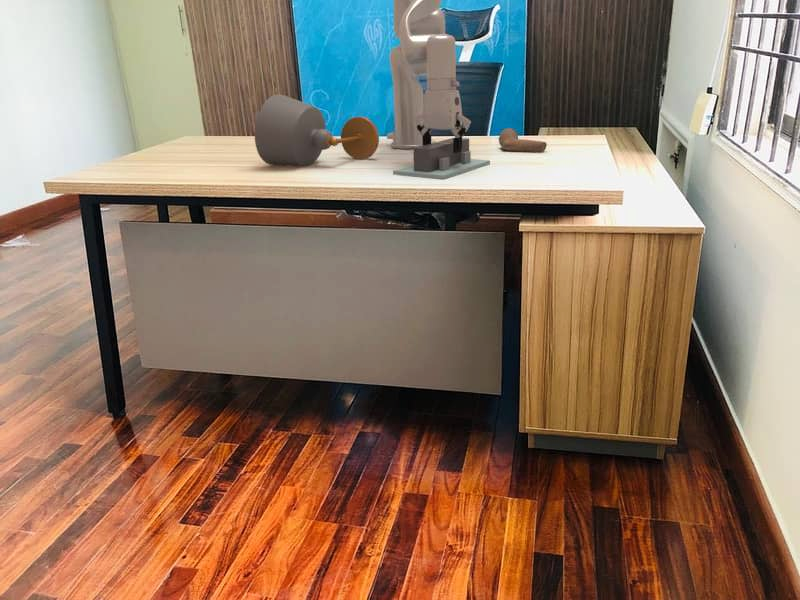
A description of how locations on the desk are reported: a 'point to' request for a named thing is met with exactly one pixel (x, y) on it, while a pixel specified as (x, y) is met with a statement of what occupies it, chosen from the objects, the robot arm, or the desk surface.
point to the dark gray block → (437, 154)
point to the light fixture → (307, 133)
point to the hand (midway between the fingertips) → (442, 151)
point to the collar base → (446, 168)
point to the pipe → (519, 142)
